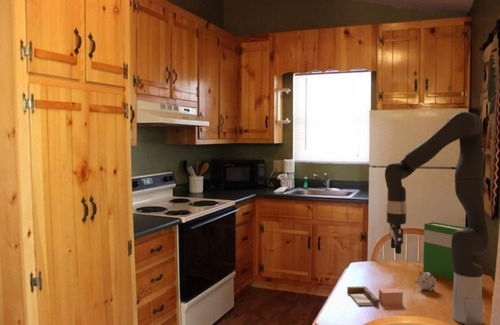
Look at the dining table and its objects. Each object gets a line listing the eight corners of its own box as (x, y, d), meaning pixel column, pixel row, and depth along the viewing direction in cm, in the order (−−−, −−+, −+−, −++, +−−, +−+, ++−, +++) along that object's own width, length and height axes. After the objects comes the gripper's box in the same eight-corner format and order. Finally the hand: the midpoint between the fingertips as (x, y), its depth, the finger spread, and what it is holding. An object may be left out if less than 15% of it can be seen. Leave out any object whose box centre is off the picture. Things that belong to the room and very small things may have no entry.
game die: (430, 299, 184) (441, 286, 178) (411, 291, 186) (421, 277, 179) (431, 283, 191) (441, 270, 185) (412, 276, 192) (422, 262, 186)
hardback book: (466, 278, 200) (468, 227, 198) (458, 281, 195) (460, 230, 194) (431, 269, 214) (432, 221, 212) (423, 271, 210) (424, 223, 208)
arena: (378, 305, 169) (378, 299, 168) (358, 306, 168) (358, 300, 168) (365, 291, 183) (365, 286, 183) (347, 292, 183) (347, 286, 183)
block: (402, 304, 170) (402, 292, 170) (382, 305, 170) (383, 292, 169) (397, 300, 174) (398, 288, 174) (378, 300, 174) (378, 288, 174)
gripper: (410, 214, 167) (409, 255, 168) (402, 208, 181) (401, 246, 182) (390, 214, 168) (389, 255, 169) (383, 208, 182) (383, 245, 183)
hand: (395, 250), depth 175 cm, fingers open, 8 cm apart
